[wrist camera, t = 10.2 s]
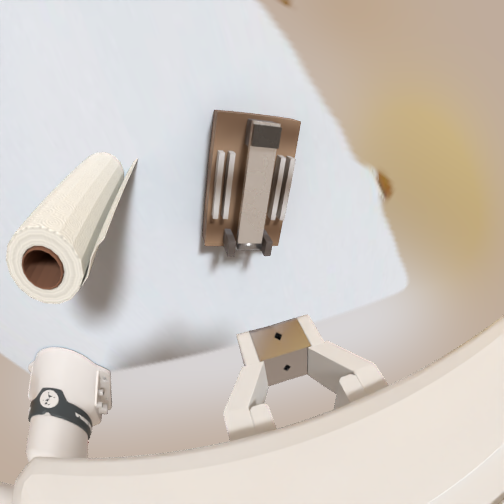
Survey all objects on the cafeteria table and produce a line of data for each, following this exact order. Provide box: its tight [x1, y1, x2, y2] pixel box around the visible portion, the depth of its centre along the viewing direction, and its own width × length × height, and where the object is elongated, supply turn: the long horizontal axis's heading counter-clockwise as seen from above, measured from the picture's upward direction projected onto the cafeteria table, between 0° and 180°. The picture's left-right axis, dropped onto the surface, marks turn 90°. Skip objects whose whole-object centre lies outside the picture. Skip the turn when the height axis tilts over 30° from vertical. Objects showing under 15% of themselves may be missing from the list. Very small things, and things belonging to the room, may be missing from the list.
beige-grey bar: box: [236, 120, 282, 250], centre depth 34 cm, size 16×3×2 cm, turn 172°
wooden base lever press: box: [203, 110, 301, 256], centre depth 36 cm, size 17×10×6 cm, turn 172°
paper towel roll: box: [6, 152, 138, 304], centre depth 25 cm, size 7×6×21 cm
